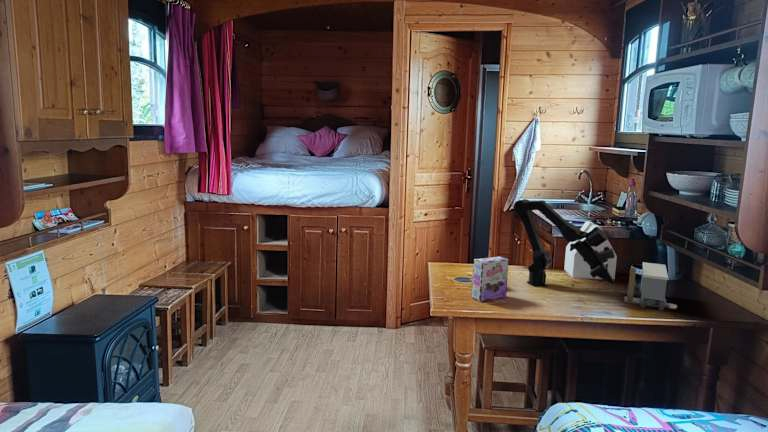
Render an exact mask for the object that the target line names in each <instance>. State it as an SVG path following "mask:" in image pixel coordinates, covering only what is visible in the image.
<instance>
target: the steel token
mask: <svg viewBox="0 0 768 432" xmlns="http://www.w3.org/2000/svg"><path fill="white" fill-rule="evenodd" d="M677 308H678V305H677V304H676V303H675V304H674V303H668V302H666V309H670V310H677Z"/></svg>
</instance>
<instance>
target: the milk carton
mask: <svg viewBox="0 0 768 432" xmlns="http://www.w3.org/2000/svg"><path fill="white" fill-rule="evenodd" d="M595 227H598V228H599V229H601V230H602V231H603V232H604V230H603V228H602V227H601V226H600V225H598V224H595V222H593V221H591V220H590V221H589V220H586V221H585V222H584V224H583V225H582V226H581V228H579V229H580V230H581V231H584V232H587V233H589V232H590V231H592V230H593V229H594V228H595ZM585 239H586V238H583V239H581V240H580V241H583V240H585ZM578 241H579V240H576V241H574V242H568V243H567V245H566V246H565V255H564V256H565V257H564V269H563V270H564V271H565V272H566V273H567V274H568V275H569V276H570V277H571V278H573V279H588V280H590V279H591V280H603V279H602V278H600V277H598V276H596V277H594V278H593V277H592V276H591V275H590V272H591V269H590V266H589V265H588V264H587V262H586V261H585V262H584V260H583V258H582V256H581V255H580V254H579V253H578V252H577V251H576V249H574V250H572V251H570V245H571V243H572V244H575V243H576V242H578ZM607 246H608V247H609V248H610V249H611V248H612V249H613V246H612V244H611V243H610V241H609V239H608V240H606V241H605V242H603V243H602V244H600V245H599V246H597V247H594V246H593V247H592V246H591V247H592V248H593V249H594V250H597V251H598V252H601V251H604V247H607ZM613 252H614V255H615V257H614V258H610V259H608V261H607V262H604V263H603V264H604V265H606V264H608V271H609V273H610V275H611V277H612V279H614V280H615V277H616V267H617V258H618V257H617V254H616V252H615V250H614V249H613Z"/></svg>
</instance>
